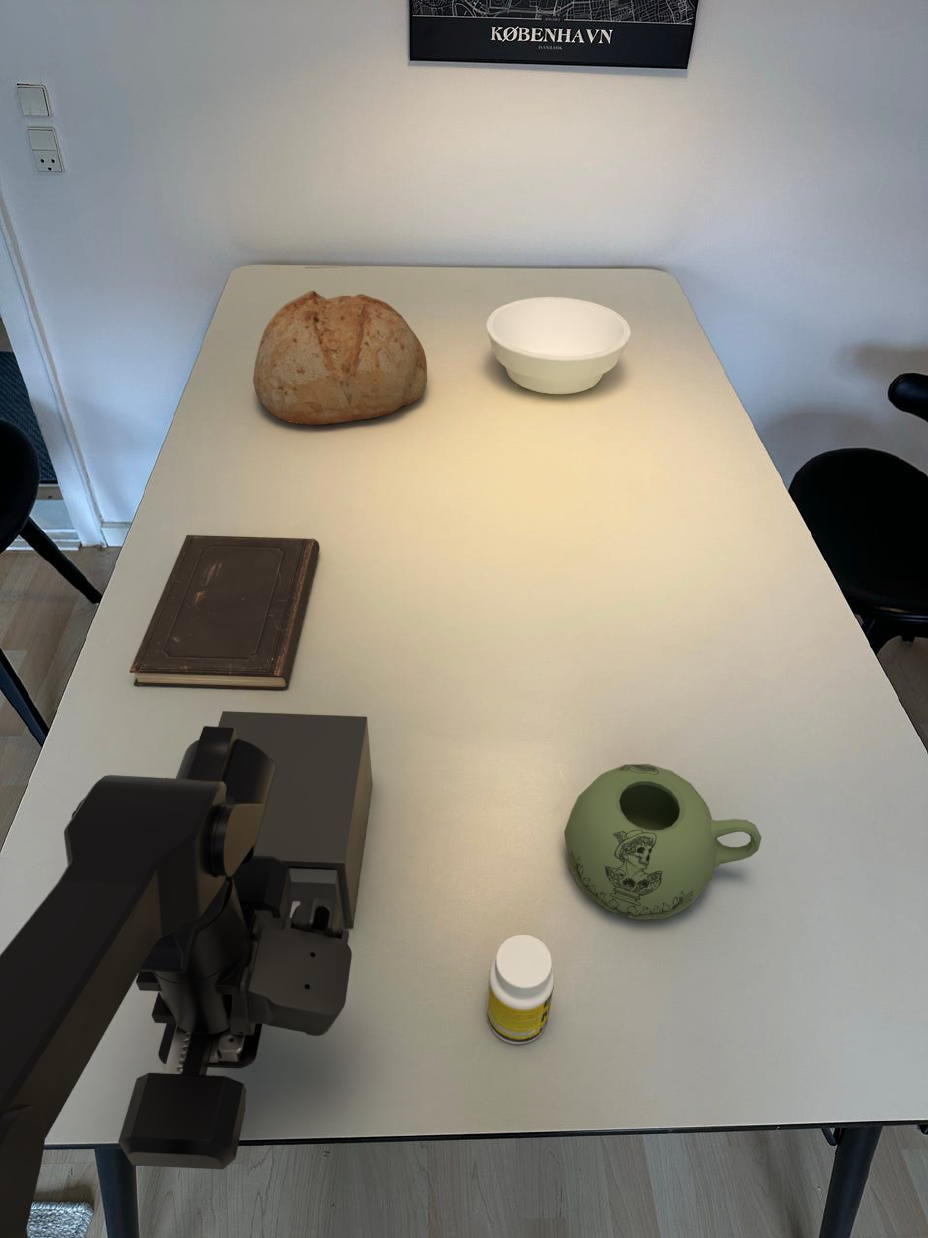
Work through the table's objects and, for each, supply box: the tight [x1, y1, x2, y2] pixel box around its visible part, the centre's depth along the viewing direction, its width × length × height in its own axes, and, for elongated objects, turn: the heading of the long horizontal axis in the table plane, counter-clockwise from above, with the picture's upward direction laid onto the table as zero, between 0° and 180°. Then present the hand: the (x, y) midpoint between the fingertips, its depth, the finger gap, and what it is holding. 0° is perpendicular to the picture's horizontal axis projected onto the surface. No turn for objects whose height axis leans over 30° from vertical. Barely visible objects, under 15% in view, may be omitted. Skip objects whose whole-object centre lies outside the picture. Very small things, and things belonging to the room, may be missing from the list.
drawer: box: [256, 866, 345, 930], centre depth 73 cm, size 18×11×8 cm, turn 178°
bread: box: [252, 290, 428, 426], centre depth 135 cm, size 26×23×15 cm
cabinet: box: [217, 710, 374, 929], centre depth 76 cm, size 15×13×10 cm
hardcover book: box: [129, 534, 321, 691], centre depth 101 cm, size 16×23×2 cm
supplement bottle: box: [485, 934, 555, 1045], centre depth 66 cm, size 5×5×8 cm
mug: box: [563, 763, 762, 920], centre depth 76 cm, size 16×13×9 cm
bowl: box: [485, 296, 632, 395], centre depth 143 cm, size 22×22×8 cm
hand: (235, 1051), depth 62 cm, fingers closed
